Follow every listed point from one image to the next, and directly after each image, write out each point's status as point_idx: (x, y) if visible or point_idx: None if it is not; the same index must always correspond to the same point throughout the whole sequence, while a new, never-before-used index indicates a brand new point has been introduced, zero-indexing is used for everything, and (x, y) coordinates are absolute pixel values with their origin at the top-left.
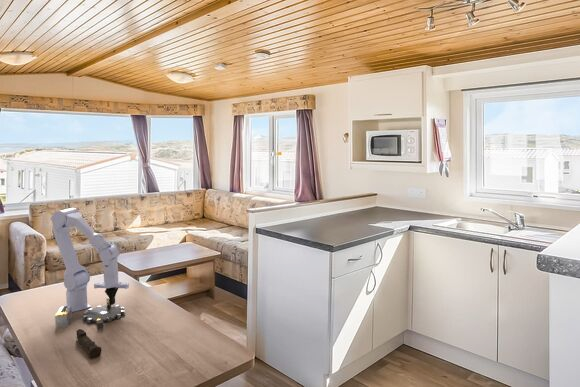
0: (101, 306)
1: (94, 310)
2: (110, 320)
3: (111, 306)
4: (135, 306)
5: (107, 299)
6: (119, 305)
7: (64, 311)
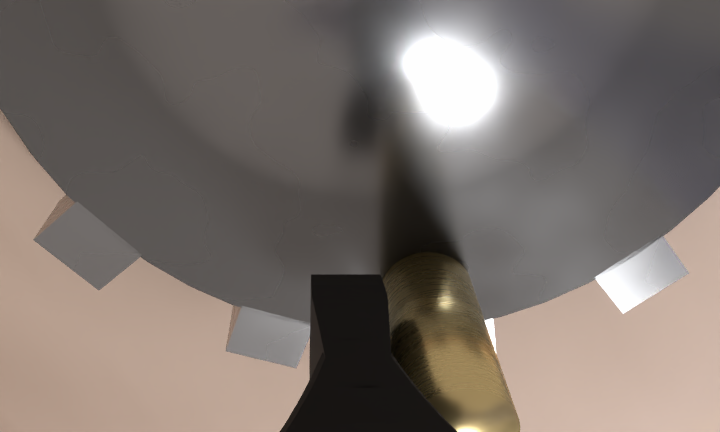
0: (586, 270)
1: (687, 51)
2: None
3: None
4: (11, 413)
5: (473, 377)
6: (228, 346)
7: None
